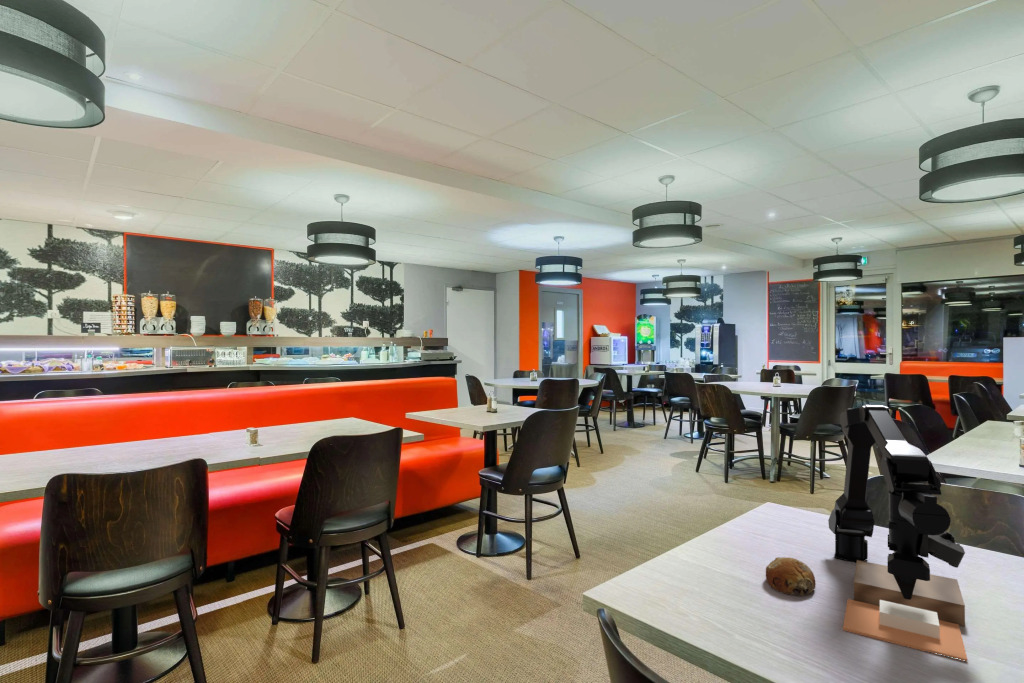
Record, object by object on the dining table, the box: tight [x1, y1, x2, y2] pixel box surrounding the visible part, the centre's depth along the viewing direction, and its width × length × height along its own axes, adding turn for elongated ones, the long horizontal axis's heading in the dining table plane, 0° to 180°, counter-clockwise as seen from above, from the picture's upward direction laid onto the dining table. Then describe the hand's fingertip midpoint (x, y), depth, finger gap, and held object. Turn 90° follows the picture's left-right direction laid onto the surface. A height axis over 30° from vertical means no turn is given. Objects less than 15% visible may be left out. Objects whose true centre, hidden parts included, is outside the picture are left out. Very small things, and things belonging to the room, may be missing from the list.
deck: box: [853, 560, 966, 627], centre depth 113 cm, size 18×14×4 cm
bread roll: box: [765, 556, 816, 597], centre depth 120 cm, size 10×10×8 cm
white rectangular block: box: [880, 600, 940, 639], centre depth 102 cm, size 9×6×2 cm, turn 55°
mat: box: [842, 598, 969, 662], centre depth 102 cm, size 18×14×1 cm
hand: (907, 598), depth 104 cm, fingers closed
